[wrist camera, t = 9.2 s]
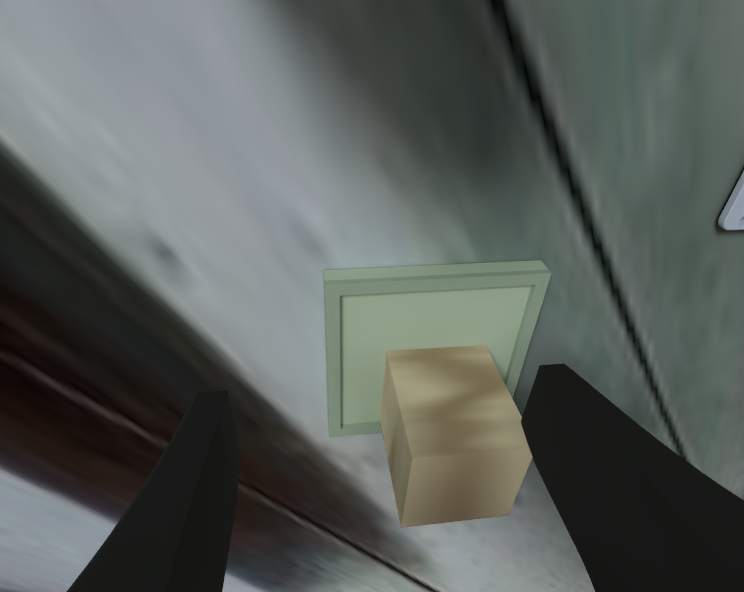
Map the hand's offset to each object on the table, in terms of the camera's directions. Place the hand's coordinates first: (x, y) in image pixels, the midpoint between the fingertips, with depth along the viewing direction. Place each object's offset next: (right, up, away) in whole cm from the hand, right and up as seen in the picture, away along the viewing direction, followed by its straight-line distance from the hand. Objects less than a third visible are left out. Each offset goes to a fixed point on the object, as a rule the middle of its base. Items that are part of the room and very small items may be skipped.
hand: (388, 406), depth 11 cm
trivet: (+2, 0, +13) cm, 13 cm away
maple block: (+3, -2, +13) cm, 14 cm away
